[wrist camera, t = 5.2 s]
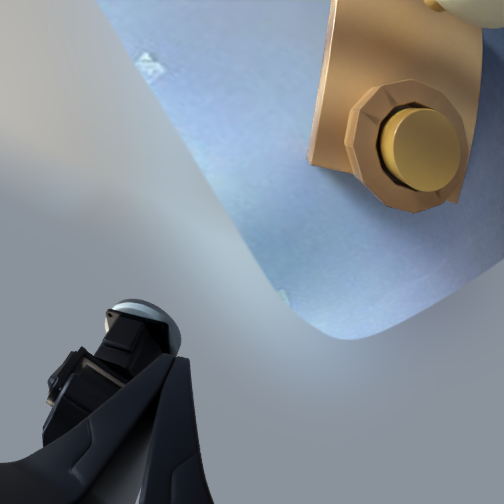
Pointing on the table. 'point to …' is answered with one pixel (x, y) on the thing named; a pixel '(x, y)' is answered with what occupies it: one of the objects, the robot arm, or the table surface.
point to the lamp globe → (472, 11)
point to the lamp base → (393, 89)
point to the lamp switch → (421, 148)
